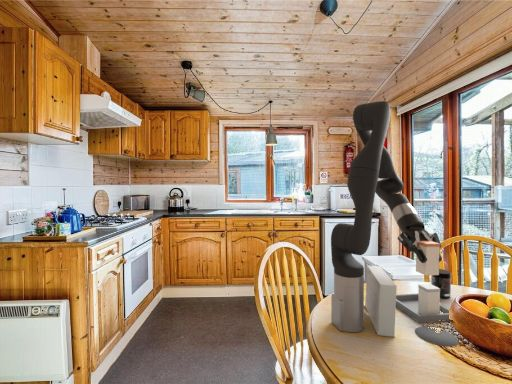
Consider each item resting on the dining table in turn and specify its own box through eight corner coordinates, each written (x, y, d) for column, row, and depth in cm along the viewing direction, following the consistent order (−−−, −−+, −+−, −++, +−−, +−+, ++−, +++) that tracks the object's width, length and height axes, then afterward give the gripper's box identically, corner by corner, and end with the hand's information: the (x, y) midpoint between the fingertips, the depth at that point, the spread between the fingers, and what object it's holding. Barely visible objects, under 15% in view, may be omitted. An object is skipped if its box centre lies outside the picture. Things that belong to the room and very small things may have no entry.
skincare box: (396, 338, 84) (397, 285, 84) (377, 336, 85) (377, 284, 85) (380, 307, 105) (380, 265, 104) (364, 306, 106) (365, 264, 105)
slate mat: (435, 350, 78) (435, 348, 78) (406, 329, 89) (406, 328, 89) (468, 345, 80) (468, 343, 80) (436, 325, 91) (436, 324, 91)
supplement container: (438, 292, 119) (439, 268, 118) (454, 298, 112) (455, 272, 112) (426, 294, 116) (427, 269, 116) (442, 300, 110) (442, 274, 110)
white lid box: (439, 317, 96) (440, 288, 95) (427, 318, 95) (427, 289, 95) (429, 311, 100) (430, 283, 100) (417, 312, 100) (418, 284, 99)
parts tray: (457, 321, 94) (457, 313, 94) (419, 323, 92) (419, 316, 92) (420, 299, 111) (420, 293, 111) (388, 301, 110) (388, 295, 110)
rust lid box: (439, 275, 88) (439, 243, 88) (425, 275, 88) (426, 243, 88) (428, 270, 93) (428, 240, 93) (415, 271, 92) (416, 240, 92)
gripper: (393, 212, 96) (417, 255, 85) (431, 212, 98) (459, 254, 87) (384, 225, 102) (405, 268, 90) (420, 225, 104) (445, 267, 92)
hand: (432, 261), depth 88 cm, fingers closed on rust lid box, 4 cm apart
